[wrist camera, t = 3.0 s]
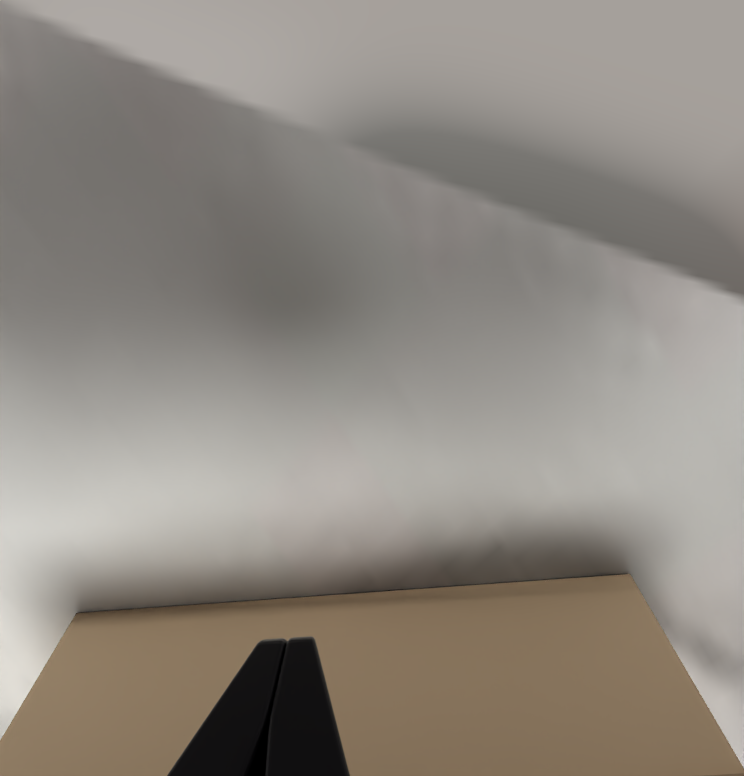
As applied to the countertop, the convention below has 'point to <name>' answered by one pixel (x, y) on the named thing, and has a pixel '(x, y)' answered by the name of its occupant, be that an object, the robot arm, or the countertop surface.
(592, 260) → the countertop surface
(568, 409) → the countertop surface
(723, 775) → the carton lid
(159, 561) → the countertop surface
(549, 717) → the carton
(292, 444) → the countertop surface
